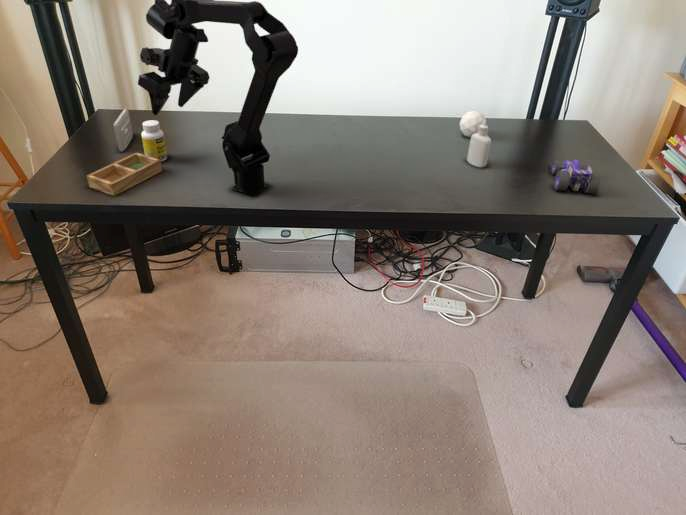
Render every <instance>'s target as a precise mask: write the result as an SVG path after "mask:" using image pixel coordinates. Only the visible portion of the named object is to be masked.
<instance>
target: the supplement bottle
mask: <svg viewBox="0 0 686 515" xmlns="http://www.w3.org/2000/svg"><path fill="white" fill-rule="evenodd" d="M160 126H161V125H160V122H159V121H158V120H156V119H151V120H145V121H143V122H142V130H143V131H141V141H142V146H143V152H144V155H146V156H149V157H153V158H156V159H159V160H161V163H162V162H164V161H166V160H167V159H168V154H167V146H166V139H165V134H164V131H163V130H162V129H160V128H161V127H160Z"/></svg>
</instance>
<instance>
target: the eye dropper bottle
mask: <svg viewBox="0 0 686 515" xmlns="http://www.w3.org/2000/svg"><path fill="white" fill-rule="evenodd" d="M486 124H487V120H486V121H483V124H482V125H480V126H479V129H478V133H475V134H473V135H472V137H471V138H470V141H469V146H468V151H467V156H466V161H467V163H468V164H470V165H472V166H474V167H476V168H485V167H487V164H488V160H489V156H490V151H491V146H492V139H491V138H490V136H489V135H488V132H489V126H488V124H487V125H486Z"/></svg>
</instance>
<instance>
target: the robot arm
mask: <svg viewBox="0 0 686 515" xmlns="http://www.w3.org/2000/svg"><path fill="white" fill-rule="evenodd" d="M145 20H146V23H147V24H148V25H149V26H150V27H151V28H152V29H153V30H155V31H156V32H157V33H159V35H161V36H162V37H163V38H164V39H166V40H171V41H170V45H169V48H161V47H160V48H159V47H153V48H152V47H150V48H149V47H147V46H146V47H142V48H141V51H140V54H139V58H140V61H141V63H144V64H145V65H146V66H153V67H156V68H157V71H159V72H160V73H163V74H164V76H162V75H160V74H159V73H157V72H156V71H150V72H145V73H142V74H140V75H138V80H137V85H138V86H139V87H141V88H142V89H143V90H145V91H146V92H147V94H148V96H149V101H150V106H151V107H150V108H151V113H152V114H153V115H154V116H158V115H159V113H160V112H161V111H162V110H163V108H164V106H165V105H166V103H167V101H168V100H169V98H170V95H169V94H170V93H171V91H172V86H176V85H179V84H180V88H179V94H178V99H177V100H178V101H177V107H179V108H182V107H184V106H185V105H186V104H187V103H188V102H189V101H190V100H191V99H192V98H193V97H194V96H195V95H196V94H197V93H198V92H199V91H200V90H201V89H203V88H204V87H205V85H208V84H209V81H210V74H209V72H208V71H207V70H206V69H204V68H203V67H201V66H200V65H198V63H199V59H198V58H197V57H196V56H197V52H198V50H199V45H200V43H208V42H209V38H208V36H207V34H206V32H205V29H204V28H198V27H196V26H195V24H199V23H200V24H201V23H205V22H208V23H219V24H233V25H239V26H240V27H241V29H242V32H243V37H244V43H245V44H246V46H247V47H248V48H249V50H250V51H251V53H252V54H251V62H252V65H253V69H254V72H253V76H252V79H251V82H250V84H249V87H248V90H247V93H246V96H245V98H244V102H243V105H242V108H241V111H240V114H239V117H238V120H237V121H234V122H232V123H229V124H226V125H225V128H224V132H223V134H222V136H221V140H222V143H221V146H222V152H223V155H224V157H225V160H226V164H227V166H228V168H229V169H230V170H231V171H232V172H233V178H234V181H233V182H234V185H233V186H232V187H231V190H232V191H234V192H236V193H237V192H238V193H240V194H244V195H246V196H250V197H255V196H257V195H259V194H260V193H261V192H262V191H264V190H265V189H267V188H268V187H269V183H267V182H265V168H264V164H265V163H268V162H269V161H270V156H271V155H270V153H269V151H268V150H267V148H266V147H265V145H264V144H263V141H262V140H263V135H262V132H261V126H262V123H263V120H264V118H265V115H266V112H267V109H268V107H269V104H270V101H271V99H272V98H273V94H274V92H275V89H276V87H277V83H278V81H279V79H280V78H281V77H282V76H283V74H284V73H286V71H288V69H290V68H291V66H292V64H293V63H294V61H295V60H296V58H297V56H298V53H299V46H298V44H297V41H296V39H295V36H293V34H292V33H291V32H290V31H289V29H288V28H287V27H286V25H285V24H284V23H283V22H282V21H280V20H279V19H278V18H276V17H275V16H274V15H273V14H271V13H269V11H268V10H267V8H265V6H264V4H262V3H261V2H259V1H256V0H254V1H236V0H235V1H233V0H170V4H169V3H168V2H167V1H166V0H154V4H152V5H151V6H150V7H149V8H148V9H147V13H146V14H145ZM255 25H258V27H259V28H260V29H262V30H263V31H265V32H267V33H268V34H265V35H260V34H259V33H258V32H257V30H256V27H255Z"/></svg>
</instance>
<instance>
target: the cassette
mask: <svg viewBox="0 0 686 515" xmlns="http://www.w3.org/2000/svg"><path fill="white" fill-rule="evenodd" d="M121 111H122V112H120V114H119V116H118V117H117V118H116V119H115V121H114V122H113V125H112V126H113V129H114V135H115V138H116V143H117V148H118V152H121V153H122V152H124V151H125V150H126V149H127V148H128V146H129V144H130V143H131V141H132V139H133V138H134V131H133V126H132V122H131V117H130V112H129V108H123V110H121Z"/></svg>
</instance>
